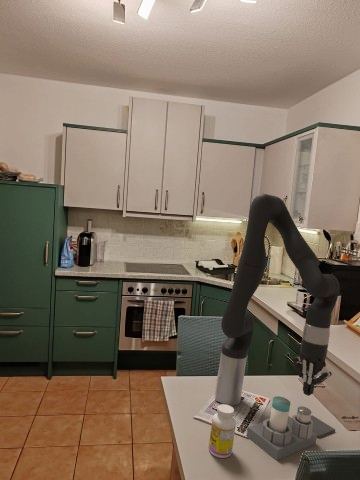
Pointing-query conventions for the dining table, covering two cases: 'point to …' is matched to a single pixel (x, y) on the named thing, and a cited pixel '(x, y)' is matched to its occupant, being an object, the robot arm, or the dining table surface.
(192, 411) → the dining table surface
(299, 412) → the plunger
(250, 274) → the robot arm
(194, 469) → the dining table surface
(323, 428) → the mat
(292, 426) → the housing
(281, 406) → the cartridge
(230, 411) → the supplement bottle
